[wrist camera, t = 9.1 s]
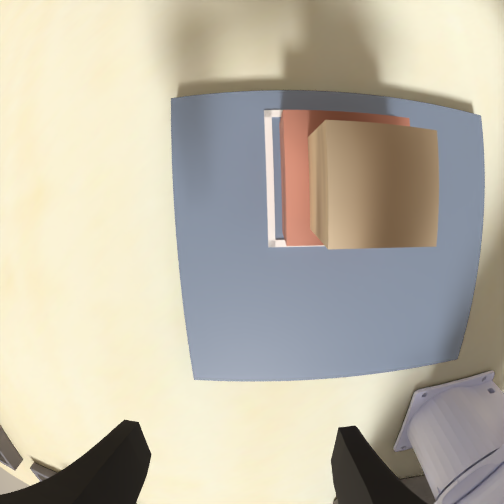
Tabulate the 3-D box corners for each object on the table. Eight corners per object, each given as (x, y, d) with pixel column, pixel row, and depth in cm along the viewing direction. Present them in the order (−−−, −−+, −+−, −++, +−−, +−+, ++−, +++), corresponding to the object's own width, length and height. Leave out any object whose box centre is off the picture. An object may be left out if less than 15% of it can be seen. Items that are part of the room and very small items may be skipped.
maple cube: (392, 141, 12) (437, 130, 8) (393, 227, 13) (436, 246, 9) (307, 137, 12) (325, 119, 8) (310, 228, 13) (327, 249, 9)
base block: (383, 128, 15) (409, 118, 12) (384, 231, 16) (409, 243, 13) (279, 124, 15) (282, 109, 12) (282, 232, 17) (286, 246, 13)
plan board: (472, 117, 15) (481, 115, 14) (451, 353, 19) (457, 359, 18) (175, 102, 16) (170, 97, 15) (196, 371, 20) (193, 380, 19)
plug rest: (131, 497, 26) (128, 505, 25) (154, 529, 29) (152, 535, 28) (34, 462, 27) (29, 468, 26) (64, 500, 30) (61, 505, 28)
